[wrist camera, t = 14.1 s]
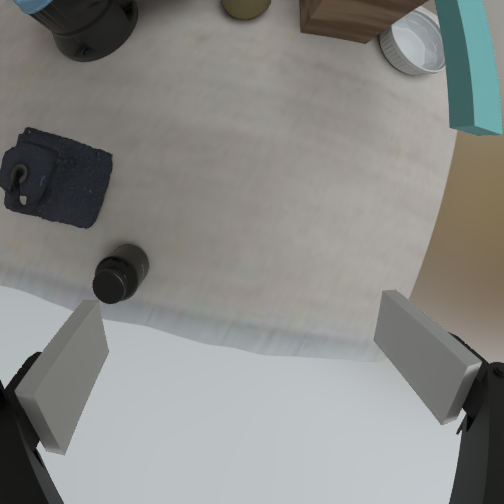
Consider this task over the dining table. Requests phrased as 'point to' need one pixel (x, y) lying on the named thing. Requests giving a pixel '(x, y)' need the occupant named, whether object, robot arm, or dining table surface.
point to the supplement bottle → (120, 274)
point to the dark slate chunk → (55, 178)
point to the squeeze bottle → (245, 8)
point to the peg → (470, 67)
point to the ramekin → (414, 44)
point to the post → (352, 17)
